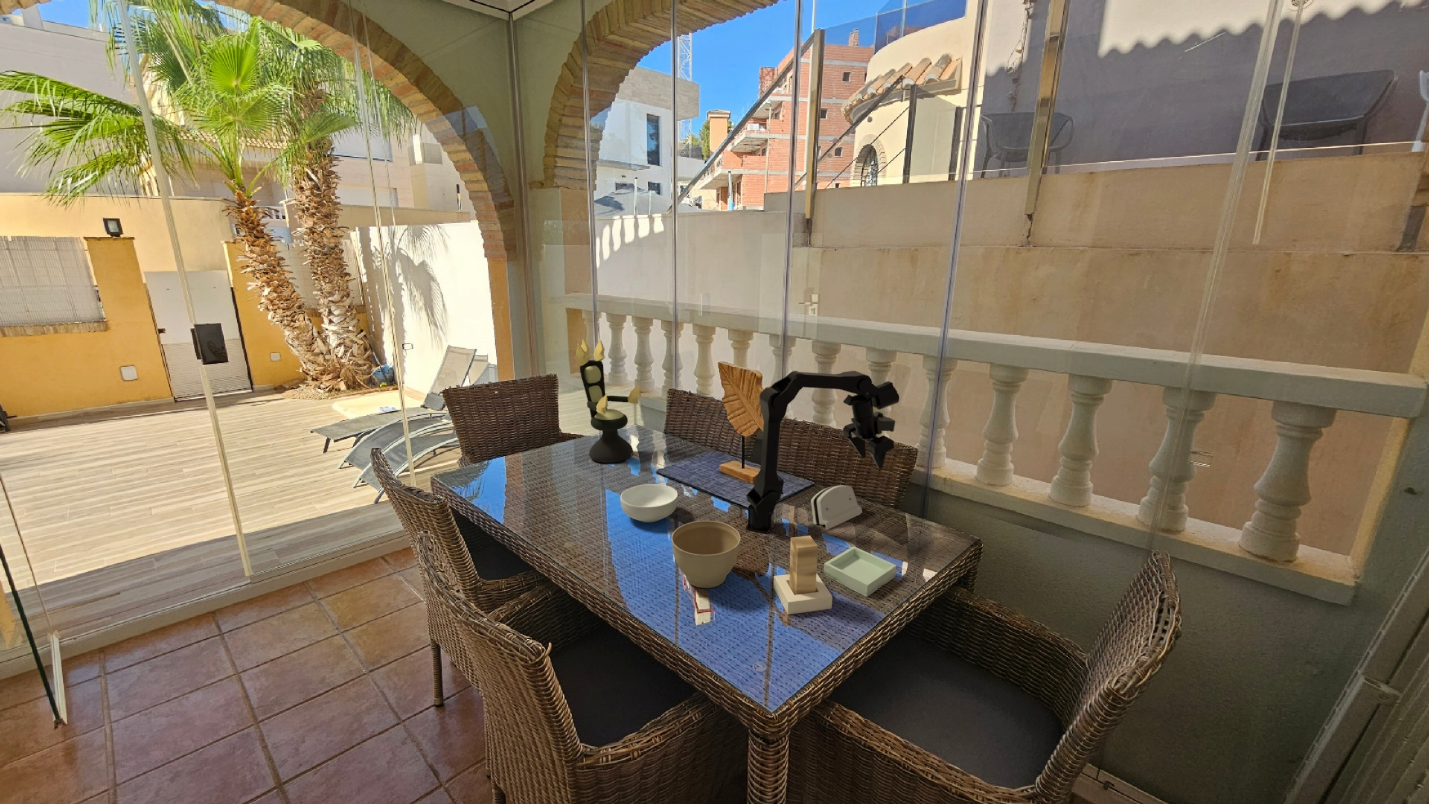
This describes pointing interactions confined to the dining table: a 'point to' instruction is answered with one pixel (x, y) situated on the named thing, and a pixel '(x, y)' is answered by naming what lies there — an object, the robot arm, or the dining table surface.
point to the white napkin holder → (834, 506)
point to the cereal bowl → (649, 502)
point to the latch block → (802, 596)
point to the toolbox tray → (860, 570)
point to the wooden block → (803, 565)
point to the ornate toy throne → (603, 407)
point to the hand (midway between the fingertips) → (872, 462)
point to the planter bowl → (705, 551)
